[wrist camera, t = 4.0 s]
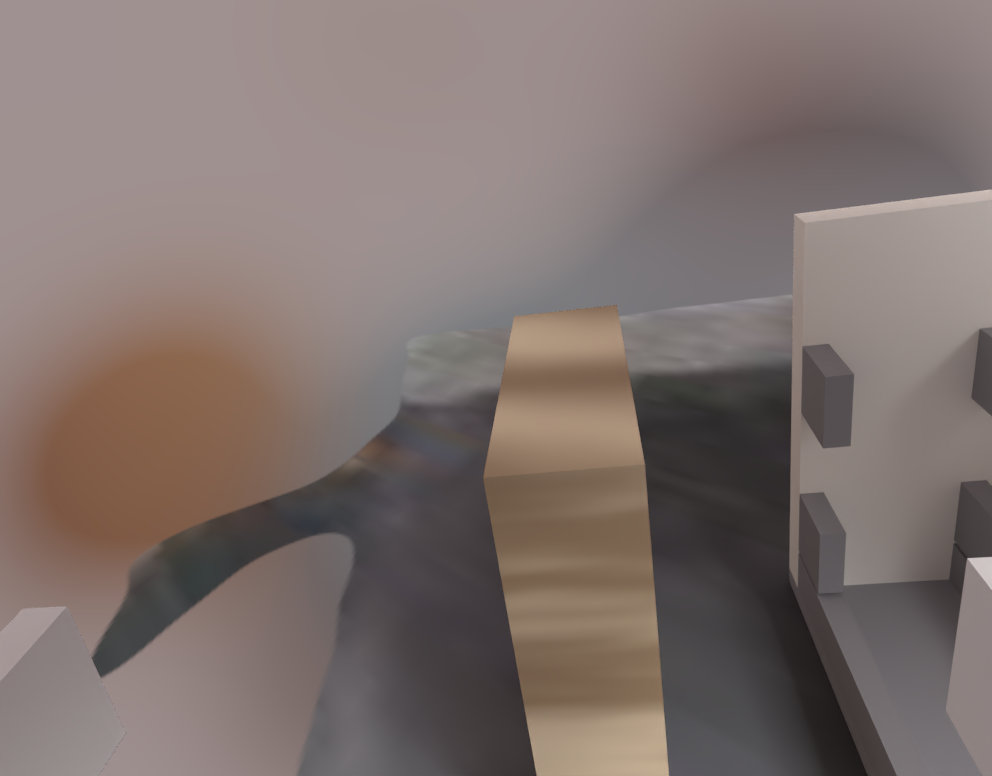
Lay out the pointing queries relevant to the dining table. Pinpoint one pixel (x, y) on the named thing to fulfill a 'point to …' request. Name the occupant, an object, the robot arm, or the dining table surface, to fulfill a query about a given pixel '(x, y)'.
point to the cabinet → (892, 460)
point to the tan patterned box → (577, 547)
